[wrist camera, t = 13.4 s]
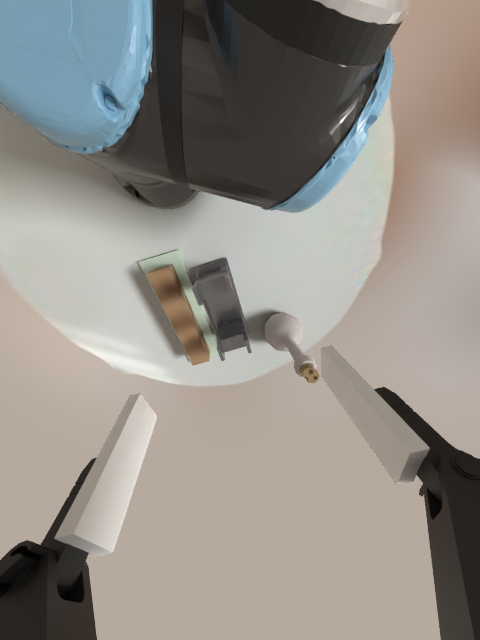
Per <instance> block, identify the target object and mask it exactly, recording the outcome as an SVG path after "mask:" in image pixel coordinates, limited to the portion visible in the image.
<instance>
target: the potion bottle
mask: <svg viewBox="0 0 480 640" xmlns="http://www.w3.org/2000/svg"><path fill="white" fill-rule="evenodd" d="M302 337H303V332H302V329H301V326H300V323H299V320H298V319H297V318H295V317H293V316H291V315H289V314H286V313H284V312H283V313H282V312H280V313H276V314H273V315H271V316H270V318H269V319H268V320H267V321H266V323H265V340H266V341H267V342H268V343H269V344H270V345H271V346H272V347H274V348H275V349H276V350H279V351H289V352H290V354H291V355H292V357H293V359H294V360H295V362H294V368H295V371H296V373H297V374H298V375H299V376H303V377H305V378H306V379H307V382H309V383H315V382H316V381H317V380H318V379H319V374H318V372H317V370H316V368H317V365H316V362H315V361H314V360H313V359H312V358H311V357H309V356H306V355H305V354H304V353H303V351H302V350H301V348H300V347H299V344H300V342H301V340H302Z"/></svg>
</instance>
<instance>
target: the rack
mask: <svg viewBox="0 0 480 640" xmlns="http://www.w3.org/2000/svg"><path fill="white" fill-rule="evenodd" d="M193 270H194V273H195V275H196V278H197V279H196V281H195V283H194V285H193V287H192V291H193V293H194V295H195V298H196V300H197V303H198V305H199V306H200V305H202V304H203V300H204V299H205V301H206V303H207V306H208V308H209V311H210V314H211V316H212V319H213V321H214V324H215V326H216V329H217V351H218V353H219V356H220V358H221V360H222V361H224V360H225V355H224V352H227V351H231V350H234V349H238V348H241V347H245V346H246V347H247V350H248V353H251V348H250V345H249V341H248V337H247V333H249V332H248V329H247V326H246V322H245V319H244V316H243V312H242V309H241V305H240V302H239V299H238V295H237V292H236V289H235V285H234V282H233V279H232V275H231V272H230V268H229V265H228V262H227V258H224V259H220V260H217V261H214V262H211V263H207V264H204V265H201V266H198V267H194V268H193Z"/></svg>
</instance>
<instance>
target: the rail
mask: <svg viewBox="0 0 480 640" xmlns="http://www.w3.org/2000/svg"><path fill="white" fill-rule="evenodd" d="M146 275H147V277H148V279H149V281H150V283H151V285H152V287H153V289H154V291H155V293H156V295H157V296H158V298H159V300H160V302H161V304H162V306H163V308H164V310H165V312H166V314H167V316H168V318H169V320H170V322H171V324H172V326H173V328H174V330H175V332H176V334H177V336H178V337H179V339H180V341H181V343H182V345H183V347H184V349H185V351H186V353H187V355H188V357H189V359H190V361H191V363H192V365H197V364H200V363H204V362H207V361H209V358H210V349H209V347H208V345H207V342H206V340H205V338H204V335H203V333H202V331H201V329H200V326H199V324H198V322H197V319H196V317H195V315H194V312H193V310H192V308H191V305H190V303H189V301H188V298H187V296H186V294H185V291H184V289H183V287H182V285H181V282H180V280H179V278H178V275H177V273H176V271H175V268H174V266H173V264H171V265H167V266H164V267H161V268H157V269H154V270H152V271H150V272H149V273H147V274H146Z"/></svg>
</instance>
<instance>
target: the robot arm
mask: <svg viewBox="0 0 480 640" xmlns="http://www.w3.org/2000/svg"><path fill="white" fill-rule="evenodd" d="M412 1H413V0H0V103H1V104H2V105H3V106H4V107H5V108H6V109H8V110H9V111H10V112H11V113H13V114H14V115H15V116H16V117H18V118H19V119H21V120H22V121H23V122H25V123H26V124H28V125H29V126H31V127H33V128H34V129H36V130H37V131H39V132H40V133H41V134H42V135H43V136H44V137H46V138H47V139H48V140H49V141H50V142H52V143H53V144H55V145H58V146H60V147H62V148H63V149H65V150H68V151H70V152H74V153H77V154H79V155H81V156H83V157H84V158H86V159H88V160H90V161H92V162H94V163H96V164H97V165H99V166H101V167H103V168H105V169H107V170H109V171H110V172H112V174H113V176H114V177H115V178H116V180H117V181H118V182H119V183H120V184H121V185H122V187H123V188H124V189H125V190H126V191H128V192H129V193H130V194H131V195H132V196H134V197H135V198H137V199H138V200H140V201H142V202H144V203H146V204H148V205H151V206H154V207H157V208H162V209H173V208H177V207H180V206H183V205H185V204H187V203H188V202H189V201H191V200H192V199H193V198H194V197H195V196H196V195H197V193H198V192H199V191H202V192H206V193H210V194H214V195H217V196H221V197H225V198H229V199H233V200H237V201H241V202H244V203H248V204H252V205H256V206H259V207H261V208H262V209H265V210H280V211H285V212H291V213H295V212H301V211H304V210H306V209H308V208H310V207H312V206H314V205H315V204H317V203H318V202H319V201H320V200H322V199H323V198H324V197H325V196H326V195H327V194H328V193H329V192H330V191H331V190H332V189H333V188H334V187H335V186H336V185H337V183H338V182H339V181H340V180H341V179H342V177H343V176H344V175H345V173H346V172H347V171H348V169H349V168H350V167H351V165H352V164H353V162H354V161H355V159H356V158H357V156H358V155H359V153H360V152H361V150H362V148H363V146H364V145H365V143H366V141H367V139H368V134H367V130H368V129H369V128H370V126H371V125H372V124H373V123H374V122H375V121H376V120H377V119H378V118H379V116H380V113H381V111H382V109H383V106H384V104H385V101H386V98H387V96H388V92H389V89H390V85H391V79H392V74H393V56H392V54H391V50H390V45H389V44H390V42H391V40H392V39H393V37H394V35H395V33H396V32H397V30H398V28H399V26H400V25H401V23H402V21H403V19H404V18H405V16H406V14H407V12H408V10H409V9H410V7H411V4H412ZM321 372H322V373H321V376H322V377H323V379H324V381H325V382H326V383H327V385H328V386H329V388H330V389H331V391H332V392H333V393H334V395H335V396H336V398H337V399H338V401H339V402H340V404H341V405H342V407H343V408H344V410H345V411H346V412H347V414H348V415H349V417H350V418H351V420H352V421H353V423H354V424H355V425H356V427H357V428H358V430H359V431H360V433H361V434H362V436H363V437H364V438H365V440H366V441H367V443H368V444H369V446H370V447H371V449H372V450H373V451H374V453H375V454H376V456H377V457H378V459H379V460H380V462H381V463H382V465H383V466H384V467H385V469H386V470H387V472H388V473H389V475H390V476H391V477H392V479H393V480H394V482H395V483H396V485H399V484H403V483H407V482H411V481H414V479H415V477H416V475H417V476H418V477H419V478H420V479H421V481H422V482H423V485H422V487H421V488H420V491H419V495H421V496H423V495H424V498H425V506H426V515H427V524H428V532H429V541H430V549H431V557H432V567H433V575H434V584H435V593H436V601H437V610H438V618H439V627H440V635H441V640H480V459H477V458H475V457H473V456H472V455H469V454H467V453H465V452H463V451H460V450H457V449H456V448H454V447H453V446H452V445H450V444H449V443H448V442H447V441H446V440H445V439H444V438H442V437H441V436H440V435H439V434H438V433H437V432H436V431H435V430H434V429H433V428H432V427H431V426H430V425H429V424H428V423H426V422H425V421H424V420H423V419H422V418H421V417H420V416H419V415H418V414H417V413H416V412H414V411H413V409H412V408H410V407H409V406H408V405H406V403H405V402H404V401H403V400H402V399H401V398H400V397H399V396H398V395H397V394H395V393H394V392H392V391H390V390H388V389H387V388H385V387H382V388H377V389H373V388H372V387H371V386H370V385H369V384H368V383H367V382H366V381H365V380H364V379H363V378H362V377H361V376H360V375H359V374H358V372H357V371H356V370H355V369H354V368H353V367H352V366H351V365H350V364H349V363H348V362H347V361H346V360H345V359H344V358H343V357H342V356H341V355H340V354H339V353H338V352H337V351H336V349H334V347H333V346H332V345H331V346H327V347H323V348H321ZM156 419H157V416H156V414H155V413H154V412H153V410H152V409H151V407H150V406H149V405H148V403H147V402H146V401H145V399H144V398H143V396H142V395H141V393H139V394H135V395H131V396H129V398H128V400H127V402H126V404H125V406H124V408H123V410H122V412H121V413H120V415H119V417H118V419H117V421H116V423H115V425H114V427H113V429H112V430H111V432H110V434H109V436H108V438H107V440H106V442H105V444H104V445H103V447H102V449H101V451H100V453H99V455H98V457H97V458H94V459H92V460H91V461H90V462H89V464H88V465H87V466H86V467H85V468H84V470H83V471H82V473H81V474H80V476H79V478H78V480H77V482H76V485H75V486H74V487H73V489H72V491H71V492H70V495H69V497H68V498H67V499H66V501H65V503H64V505H63V506H62V508H61V510H60V512H59V514H58V515H57V517H56V519H55V521H54V523H53V525H52V526H51V528H50V530H49V531H48V533H47V535H46V537H45V539H44V540H43V542H42V543H41V545H39V544H36V543H34V542H31V541H24V542H21V543H19V544H18V545H17V546H15V547H14V548H12V549H11V550H10V551H9V552H8V553H7V554H6V555H5V556H4V557H3V558H2V559H1V560H0V640H97V637H96V628H95V620H94V611H93V603H92V594H91V586H90V577H89V568H88V565H87V563H86V562H85V561H86V558H87V556H88V554H92V555H94V556H101V555H105V554H109V553H113V550H114V548H115V544H116V541H117V538H118V535H119V532H120V529H121V525H122V523H123V520H124V517H125V514H126V511H127V508H128V505H129V502H130V498H131V496H132V492H133V489H134V486H135V483H136V480H137V477H138V474H139V471H140V468H141V465H142V461H143V459H144V456H145V453H146V450H147V446H148V443H149V440H150V437H151V434H152V431H153V428H154V425H155V422H156Z"/></svg>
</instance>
